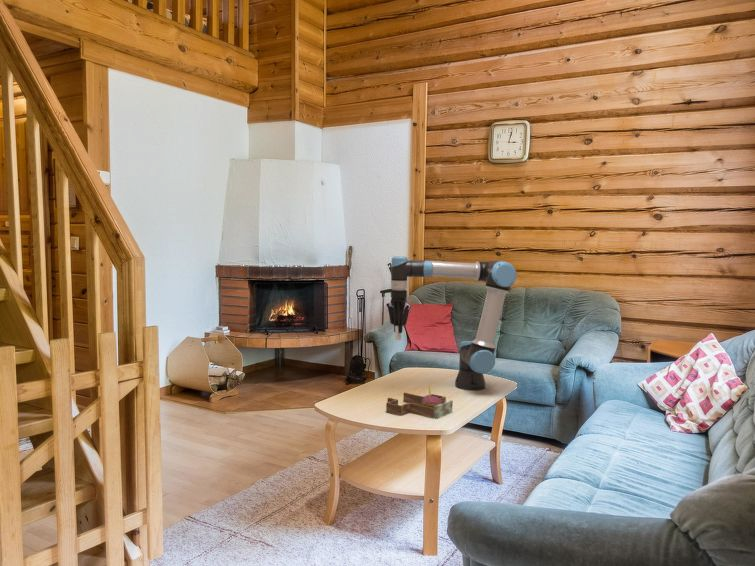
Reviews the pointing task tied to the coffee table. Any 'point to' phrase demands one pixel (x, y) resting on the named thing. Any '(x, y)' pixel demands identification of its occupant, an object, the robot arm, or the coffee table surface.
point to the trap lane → (418, 406)
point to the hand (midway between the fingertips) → (397, 339)
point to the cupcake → (431, 400)
